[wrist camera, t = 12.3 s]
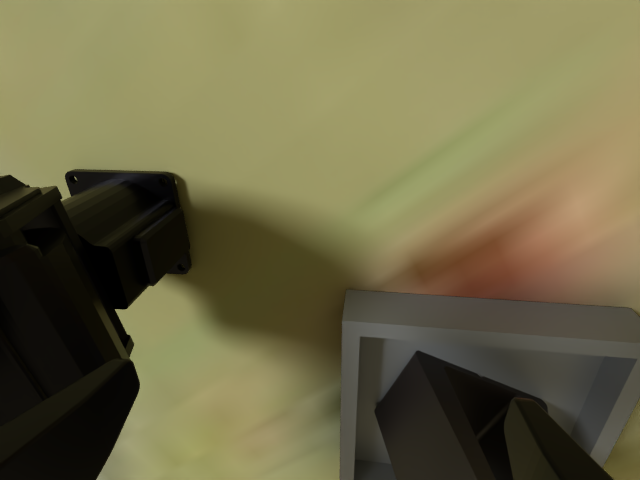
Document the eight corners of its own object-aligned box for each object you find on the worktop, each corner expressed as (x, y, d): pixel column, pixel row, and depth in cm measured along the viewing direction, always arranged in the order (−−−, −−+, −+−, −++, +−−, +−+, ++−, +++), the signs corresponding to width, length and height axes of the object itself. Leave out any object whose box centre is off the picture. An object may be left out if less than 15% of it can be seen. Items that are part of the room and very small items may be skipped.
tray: (342, 453, 30) (339, 492, 28) (346, 289, 23) (342, 320, 20) (554, 479, 28) (572, 524, 26) (630, 308, 21) (667, 345, 18)
